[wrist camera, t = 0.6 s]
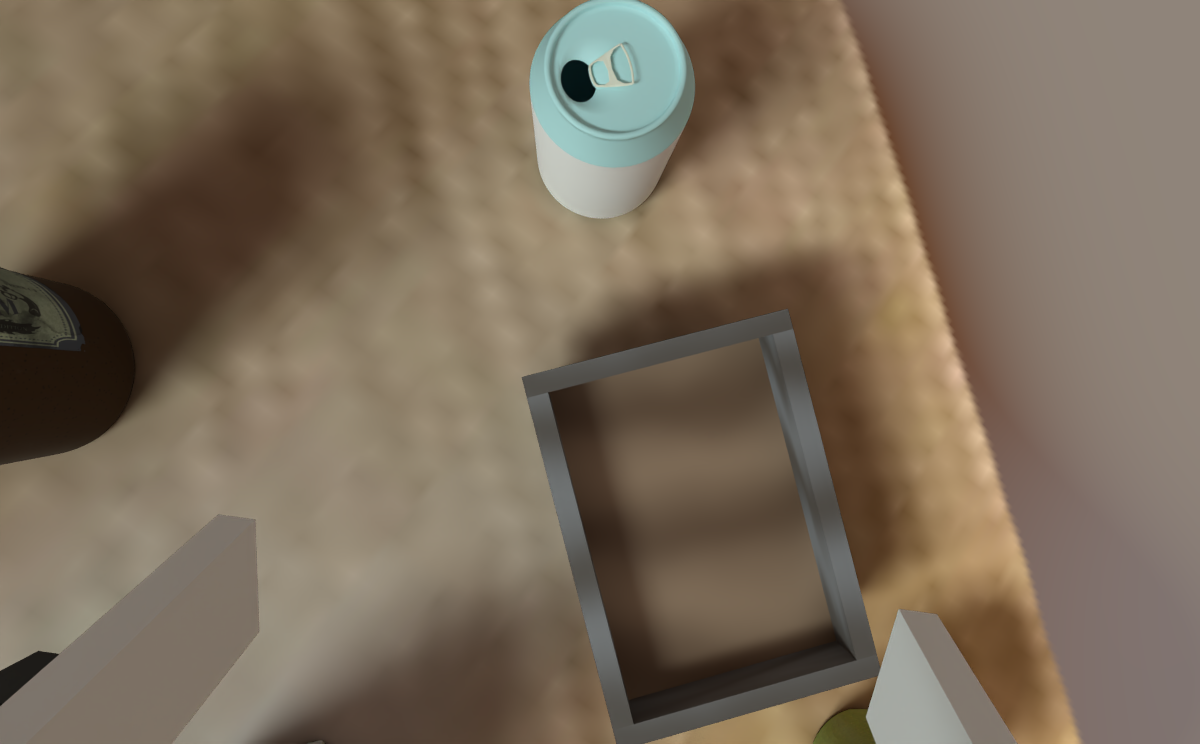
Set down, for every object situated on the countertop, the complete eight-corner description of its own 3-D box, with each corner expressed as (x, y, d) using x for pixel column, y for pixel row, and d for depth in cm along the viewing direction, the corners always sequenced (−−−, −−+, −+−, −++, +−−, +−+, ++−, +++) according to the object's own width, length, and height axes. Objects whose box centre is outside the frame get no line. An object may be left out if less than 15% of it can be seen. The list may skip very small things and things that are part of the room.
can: (614, 245, 40) (637, 189, 28) (513, 172, 40) (492, 84, 28) (685, 146, 40) (737, 48, 28) (585, 73, 40) (595, -57, 28)
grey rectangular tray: (528, 377, 40) (521, 377, 33) (748, 320, 41) (787, 308, 34) (608, 685, 40) (618, 751, 33) (826, 623, 41) (881, 674, 34)
